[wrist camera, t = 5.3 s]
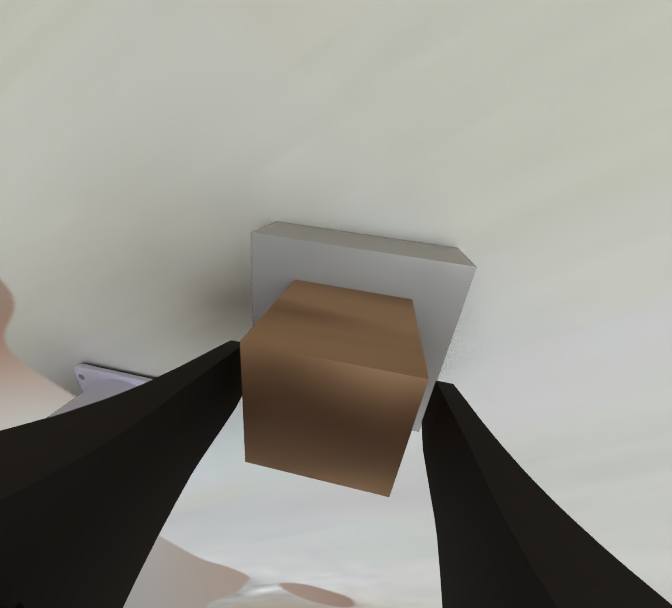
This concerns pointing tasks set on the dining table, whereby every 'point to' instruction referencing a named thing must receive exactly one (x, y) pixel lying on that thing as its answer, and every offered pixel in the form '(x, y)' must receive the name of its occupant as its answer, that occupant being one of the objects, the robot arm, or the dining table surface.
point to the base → (367, 278)
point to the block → (333, 385)
